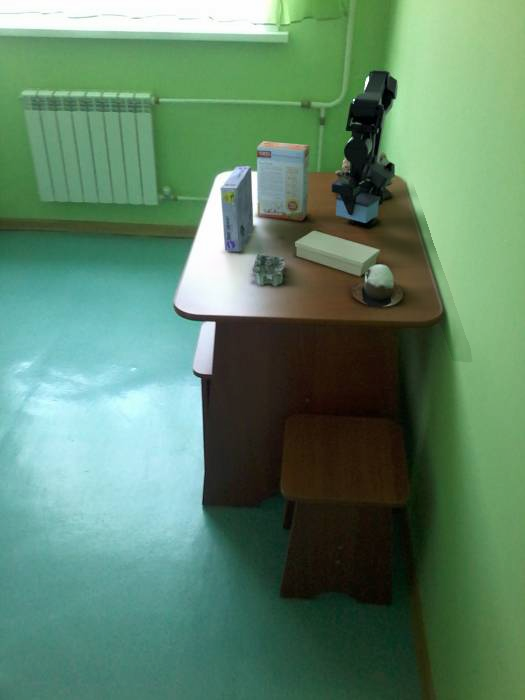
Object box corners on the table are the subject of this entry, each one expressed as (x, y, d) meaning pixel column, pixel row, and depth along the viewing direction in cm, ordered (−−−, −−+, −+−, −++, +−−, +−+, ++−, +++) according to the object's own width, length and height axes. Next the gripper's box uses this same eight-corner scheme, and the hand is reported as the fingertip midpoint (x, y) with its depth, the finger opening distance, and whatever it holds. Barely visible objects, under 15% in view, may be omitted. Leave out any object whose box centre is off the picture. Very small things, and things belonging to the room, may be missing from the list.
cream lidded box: (313, 243, 170) (313, 230, 168) (378, 263, 160) (380, 249, 158) (294, 255, 164) (295, 241, 162) (361, 277, 154) (362, 262, 152)
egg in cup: (346, 276, 152) (377, 248, 148) (374, 302, 156) (406, 276, 151) (348, 299, 142) (382, 270, 138) (378, 327, 146) (413, 299, 141)
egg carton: (282, 287, 150) (282, 272, 148) (251, 285, 151) (251, 270, 149) (285, 266, 159) (286, 252, 157) (256, 265, 160) (256, 250, 157)
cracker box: (307, 214, 186) (310, 144, 174) (302, 222, 182) (304, 150, 170) (263, 208, 190) (263, 139, 178) (256, 216, 185) (256, 145, 173)
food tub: (347, 207, 169) (349, 189, 166) (378, 215, 165) (380, 196, 162) (334, 215, 165) (335, 196, 162) (365, 223, 160) (367, 204, 157)
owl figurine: (333, 200, 196) (337, 145, 186) (334, 187, 205) (338, 134, 195) (391, 202, 194) (398, 147, 184) (389, 189, 203) (396, 136, 194)
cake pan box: (238, 223, 181) (236, 163, 171) (255, 224, 180) (254, 164, 170) (222, 252, 166) (219, 188, 156) (240, 253, 165) (239, 189, 155)
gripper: (373, 167, 145) (366, 230, 154) (408, 148, 157) (400, 207, 166) (332, 158, 151) (328, 219, 159) (369, 140, 163) (363, 197, 172)
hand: (356, 210), depth 164 cm, fingers closed on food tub, 6 cm apart
